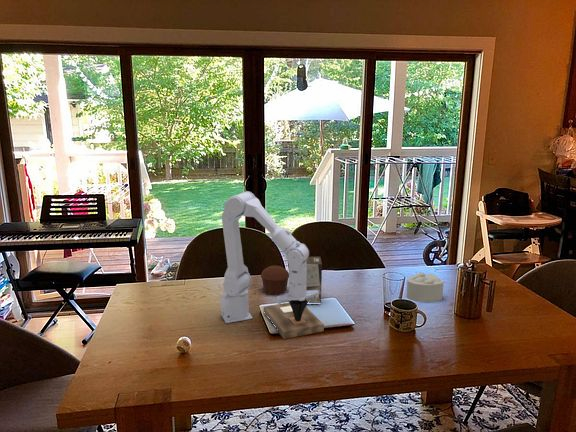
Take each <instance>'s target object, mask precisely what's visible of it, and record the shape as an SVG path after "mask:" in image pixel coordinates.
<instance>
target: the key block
mask: <svg viewBox="0 0 576 432" xmlns="http://www.w3.org/2000/svg"><path fill="white" fill-rule="evenodd" d="M286 306H291V305H290V303H289V302H283V303H281V304H277V303H276V304H274V305H273V304H272V305H267V306H263V313H264V312H265V314H266V315H267V316H268V317H269V318H270V320H271V321H272V322H273V324H274V325H275V326H276V328H277V329H278V331H279V332H278V331H277V332H278V334H279V335H280V336H281V337H282V339H283V340H285V339H291V338H296V337H301V336H307V335H310V334H312V335H313V334H315V333H321V332H324V330H325V326H324V325H325V324H324V323H323V321H321V320H320V319H319V318H318V317H317V316H316V315H315V314H314V313H313V312H312V311H311V310H310V309H309V308H308V306H306V307H305V309H304V311H303V314H302V318H303V319H304V320H305V321H306V323H303V324H297V325H293V324H292V323H291V322H290V321H289V318H293V317H294V314H293V312H292V313H286V314H283V313H282V312H281V311H280V309H279V308H280V307H286ZM265 314H264V315H265ZM276 328H275V329H276Z"/></svg>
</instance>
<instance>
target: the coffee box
mask: <svg viewBox="0 0 576 432" xmlns="http://www.w3.org/2000/svg"><path fill="white" fill-rule="evenodd" d="M321 258H322V257H321V256H308V258H307V259H306V260H305V261H307V263H306V268H307V282H306V291H308V290H317V291H318V292H319V297H318V298H316V297H313V298H307V299H306V300H307V301H308V302H309V303H321V304H322V281H323V280H322V277H323V275H322V274H323V273H322V272H323V271H322V269H323V263H322V259H321Z"/></svg>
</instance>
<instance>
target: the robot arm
mask: <svg viewBox="0 0 576 432" xmlns="http://www.w3.org/2000/svg"><path fill="white" fill-rule="evenodd" d="M242 217H248V218H254V219H255V220H256V221H257V222H258V223H259V224H260V225H261V226H263V228H264V229H265V230H266V231H268V232H269V233H270V235H271V241H272V242H274V244H275V245H276V246H277V247H278V248H279V249H280V251H282V253H283V254H284V255H285V260H286V262H287V263H288V273H289V278H288V292H285V293H283V294H280V295H276V296H275V302H276V305H277V304H283V303H290V305H291V308H292V310H293V314H294V318H295V320H296V321H301V317H302V314H303V311H304V309H305V307H308V306H307V303H308V301H307V300H306V299H307V298H313V297H316V298H318V297H319V292H318V291H317V290H308V291H306V282H307V268H306V263H307V261H305V260H306V259H307V258H308V257H310V250H309V248H308V247H307V245H306V244H305V243H301V242H300V241H299V240H297V239H296V238H295V237H294V236H293V235H292V234H291V230H290V229H289V228H286V227H281V226H279V225H278V224H277V222H276V221H275V220H274V219H273V218H272V216H271V215H270V214H269V212H268V211H267V210H266V209H265V207H263V206H262V203H261V201H260V199H259V198H257V197H256V196H255V194H254V193H252V191H248V190H247V191H243V192H242V193H241V192H240V193H238V194H235V195H234V194H233V195H232V196H230V197H228V199H226V200H225V202H224V209H223V212H222V214H221V222H222V229H223V230H222V231H223V238H224V239H223V240H224V246H225V254H226V255H225V256H226V263H227V268H226V271H225V273H224V282H223V283H222V288H223V291H224V292H225V293H224V294H223V293H222V294H221V295H220V316H221V317H222V319H223V320H224V322H225V324H229V323H236V322H240V321H247V320H251V319H253V316H252V314H251V313H250V312H249V311H250V310H249V287H250V285H251V283H252V277H251V274H250V273H249V269H248V267H247V266H246V265H245V264H244V256H243V247H242V239H241V232H240V223H239V220H240V219H241V218H242Z"/></svg>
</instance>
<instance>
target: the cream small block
mask: <svg viewBox="0 0 576 432" xmlns="http://www.w3.org/2000/svg"><path fill="white" fill-rule="evenodd" d="M279 309H280V311H281V312H282V313H283V314H286V313H292V312H293V310H292V308H291V306H286V307H280V308H279Z"/></svg>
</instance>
